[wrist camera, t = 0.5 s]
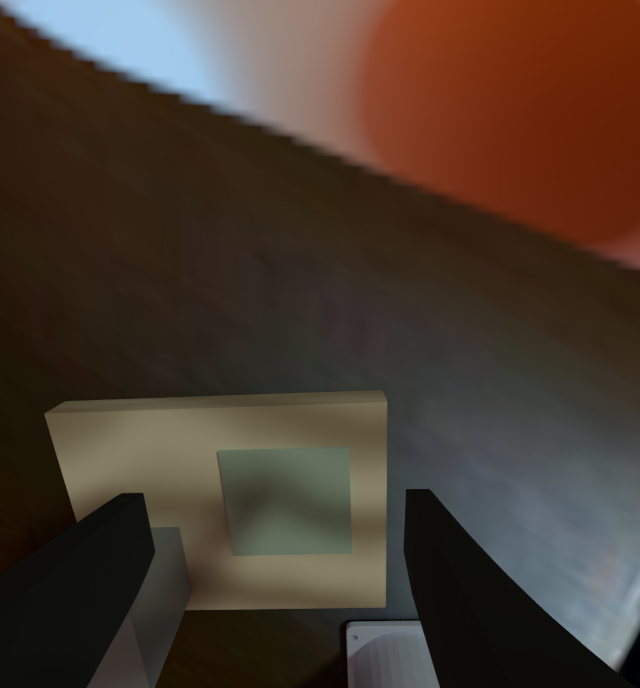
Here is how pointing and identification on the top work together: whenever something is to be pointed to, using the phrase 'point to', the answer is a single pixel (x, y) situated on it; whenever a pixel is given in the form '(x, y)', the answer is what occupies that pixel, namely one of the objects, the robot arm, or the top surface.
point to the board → (246, 489)
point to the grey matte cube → (149, 619)
